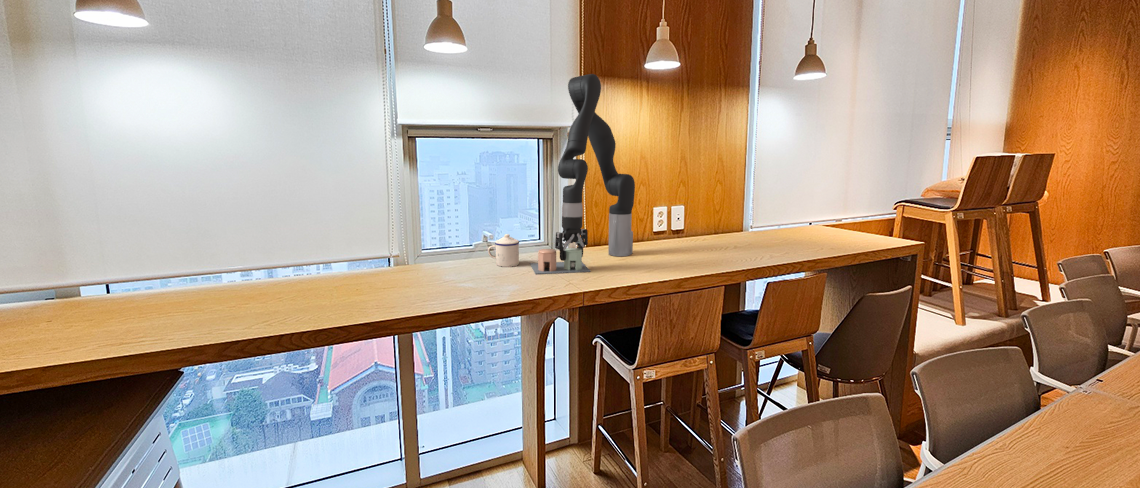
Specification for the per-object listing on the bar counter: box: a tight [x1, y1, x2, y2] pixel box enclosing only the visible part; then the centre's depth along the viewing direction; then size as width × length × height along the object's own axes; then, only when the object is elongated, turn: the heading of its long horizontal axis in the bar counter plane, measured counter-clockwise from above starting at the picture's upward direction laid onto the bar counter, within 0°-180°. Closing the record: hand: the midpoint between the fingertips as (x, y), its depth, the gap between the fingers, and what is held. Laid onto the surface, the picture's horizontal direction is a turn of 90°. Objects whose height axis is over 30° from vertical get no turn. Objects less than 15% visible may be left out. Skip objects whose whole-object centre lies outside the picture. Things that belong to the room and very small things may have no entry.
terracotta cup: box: [537, 248, 557, 272], centre depth 199 cm, size 6×6×7 cm
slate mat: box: [529, 261, 592, 275], centre depth 204 cm, size 20×16×1 cm
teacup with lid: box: [487, 233, 520, 268], centre depth 208 cm, size 12×9×12 cm
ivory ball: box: [570, 261, 576, 268], centre depth 201 cm, size 3×3×3 cm
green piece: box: [563, 247, 583, 270], centre depth 201 cm, size 6×6×7 cm
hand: (571, 258), depth 201 cm, fingers open, 8 cm apart
